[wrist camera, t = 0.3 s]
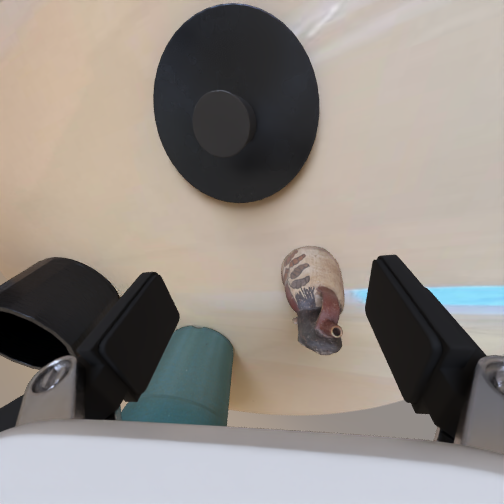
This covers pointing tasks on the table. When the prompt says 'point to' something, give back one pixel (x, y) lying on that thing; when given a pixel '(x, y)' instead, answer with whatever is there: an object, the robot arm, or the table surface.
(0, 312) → the pot
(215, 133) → the lid
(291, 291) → the figurine
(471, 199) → the table surface
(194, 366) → the flower pot
